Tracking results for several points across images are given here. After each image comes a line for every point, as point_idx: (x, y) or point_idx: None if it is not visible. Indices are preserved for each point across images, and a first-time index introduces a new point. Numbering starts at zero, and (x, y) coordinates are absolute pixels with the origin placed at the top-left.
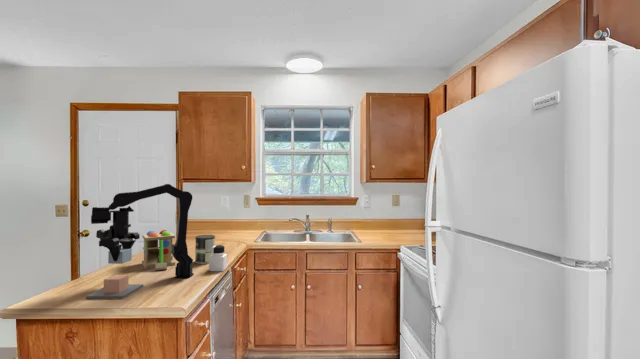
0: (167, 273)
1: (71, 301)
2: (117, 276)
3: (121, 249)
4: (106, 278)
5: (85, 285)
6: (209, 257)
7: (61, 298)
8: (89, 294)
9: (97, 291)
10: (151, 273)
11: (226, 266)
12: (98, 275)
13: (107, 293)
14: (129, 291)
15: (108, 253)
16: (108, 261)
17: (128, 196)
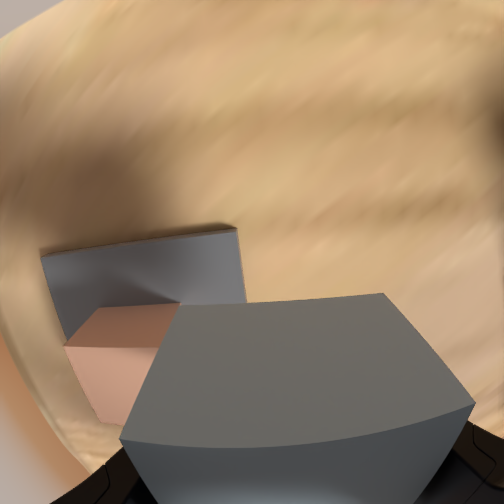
0: (470, 365)
1: (16, 215)
2: (138, 390)
3: (358, 501)
4: (81, 349)
5: (244, 42)
6: None
7: (33, 126)
8: (58, 256)
9: (98, 263)
10: (488, 292)
11: None
12: (436, 5)
13: None
14: None
15: (133, 405)
16: (174, 320)
17: None
